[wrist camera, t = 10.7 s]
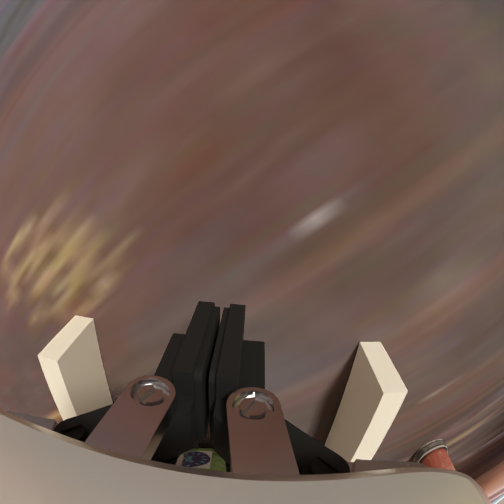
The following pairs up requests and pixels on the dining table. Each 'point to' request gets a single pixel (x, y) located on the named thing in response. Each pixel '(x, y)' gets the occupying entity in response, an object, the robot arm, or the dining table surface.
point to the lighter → (434, 455)
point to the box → (342, 431)
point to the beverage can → (203, 459)
